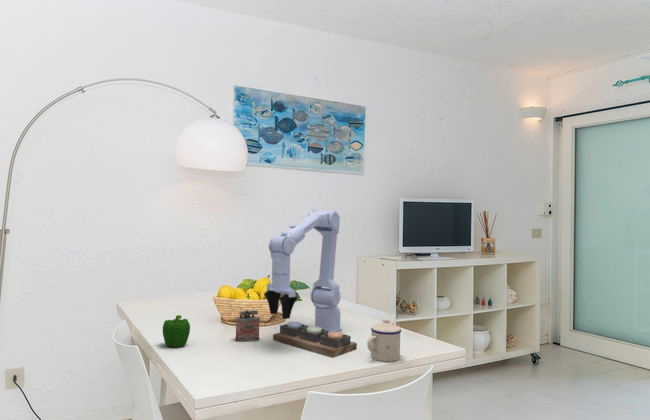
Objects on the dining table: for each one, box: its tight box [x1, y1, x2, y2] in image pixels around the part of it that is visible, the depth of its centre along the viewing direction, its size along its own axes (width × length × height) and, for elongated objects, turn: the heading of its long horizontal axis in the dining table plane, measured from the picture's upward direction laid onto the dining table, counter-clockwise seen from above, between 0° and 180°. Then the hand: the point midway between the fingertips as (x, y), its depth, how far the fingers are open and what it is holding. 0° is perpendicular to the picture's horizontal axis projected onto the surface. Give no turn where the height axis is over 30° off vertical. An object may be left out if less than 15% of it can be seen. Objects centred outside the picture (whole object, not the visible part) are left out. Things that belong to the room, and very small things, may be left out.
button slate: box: [286, 321, 302, 329], centre depth 162 cm, size 5×5×2 cm
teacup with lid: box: [366, 318, 402, 363], centre depth 144 cm, size 12×9×12 cm
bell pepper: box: [162, 314, 191, 348], centre depth 151 cm, size 8×8×10 cm
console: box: [272, 323, 358, 358], centre depth 156 cm, size 12×26×5 cm, turn 50°
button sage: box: [307, 325, 321, 334], centre depth 156 cm, size 5×5×2 cm
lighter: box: [234, 309, 261, 343], centre depth 159 cm, size 8×3×10 cm, turn 105°
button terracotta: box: [328, 331, 344, 339], centre depth 150 cm, size 5×5×2 cm
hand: (279, 316), depth 153 cm, fingers open, 7 cm apart
